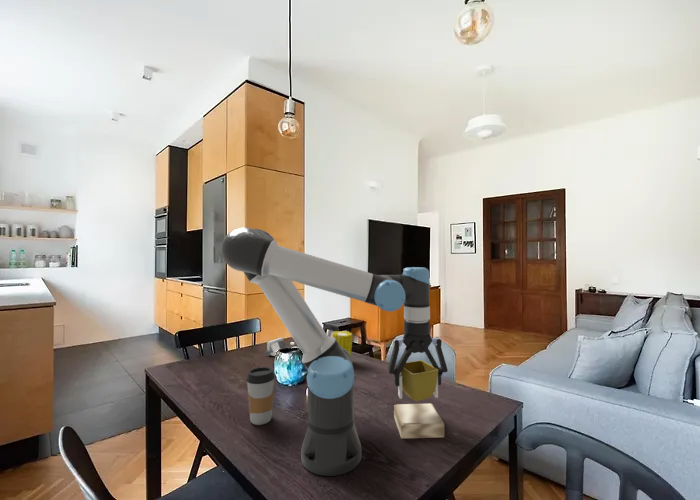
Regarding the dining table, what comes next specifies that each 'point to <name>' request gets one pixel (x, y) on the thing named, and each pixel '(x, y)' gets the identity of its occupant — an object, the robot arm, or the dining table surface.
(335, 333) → the food
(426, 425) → the cream square block
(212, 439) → the dining table surface
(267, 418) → the coffee cup
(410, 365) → the flower pot
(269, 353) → the toy car
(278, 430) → the dining table surface
